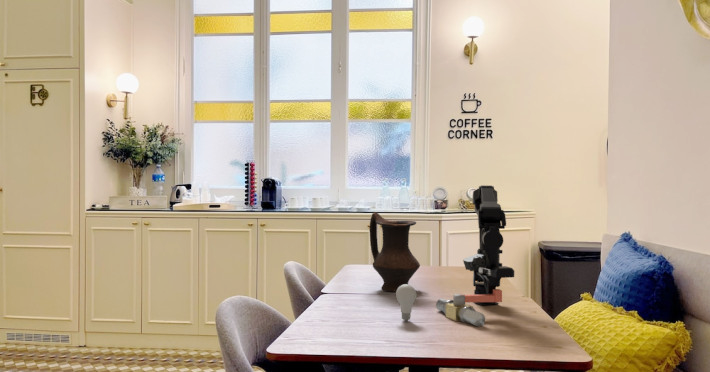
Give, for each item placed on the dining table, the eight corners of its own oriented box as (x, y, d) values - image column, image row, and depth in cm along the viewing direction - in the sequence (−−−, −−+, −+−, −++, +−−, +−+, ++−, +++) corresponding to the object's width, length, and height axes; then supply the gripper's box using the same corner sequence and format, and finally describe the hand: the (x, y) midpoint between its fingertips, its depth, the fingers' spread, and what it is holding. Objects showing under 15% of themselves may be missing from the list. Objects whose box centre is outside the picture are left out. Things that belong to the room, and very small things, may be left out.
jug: (428, 288, 221) (428, 213, 221) (406, 296, 205) (407, 214, 205) (381, 283, 232) (382, 211, 232) (358, 290, 216) (358, 213, 216)
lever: (498, 302, 173) (498, 288, 173) (502, 304, 170) (502, 290, 170) (451, 303, 172) (452, 289, 172) (455, 305, 168) (455, 291, 168)
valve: (449, 311, 182) (449, 295, 182) (488, 327, 161) (488, 309, 161) (433, 313, 180) (433, 297, 180) (470, 329, 159) (470, 311, 159)
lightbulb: (418, 319, 168) (418, 283, 168) (413, 324, 162) (413, 286, 162) (398, 318, 170) (398, 282, 170) (393, 322, 164) (393, 285, 164)
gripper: (453, 243, 180) (452, 291, 180) (482, 250, 163) (481, 303, 163) (483, 242, 184) (482, 290, 184) (515, 249, 166) (515, 301, 166)
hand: (489, 296), depth 174 cm, fingers closed
